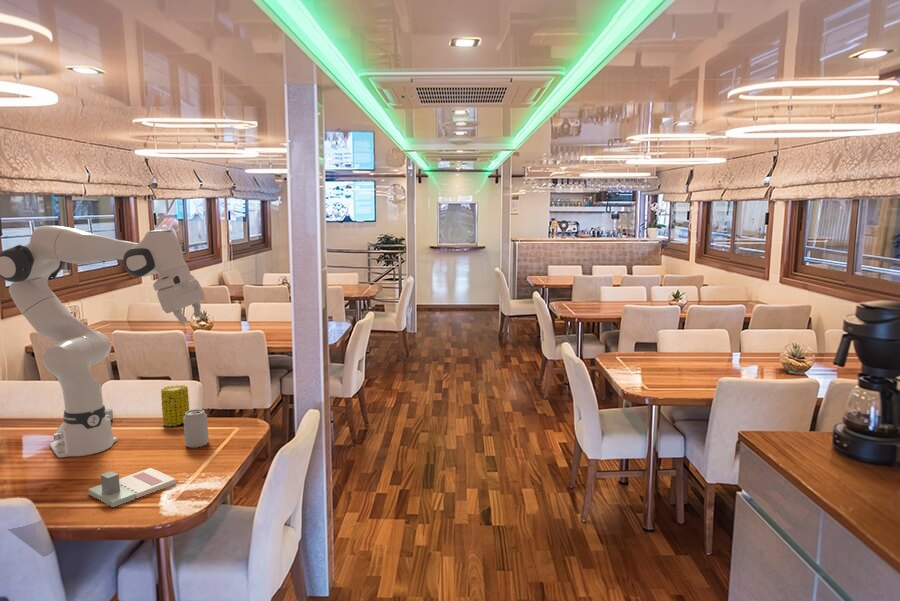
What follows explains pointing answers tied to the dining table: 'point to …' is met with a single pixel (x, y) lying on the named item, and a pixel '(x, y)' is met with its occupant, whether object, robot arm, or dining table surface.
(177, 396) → the food
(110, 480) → the stub
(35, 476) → the dining table surface
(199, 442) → the can
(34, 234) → the robot arm
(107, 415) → the charger
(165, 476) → the spiral notepad
